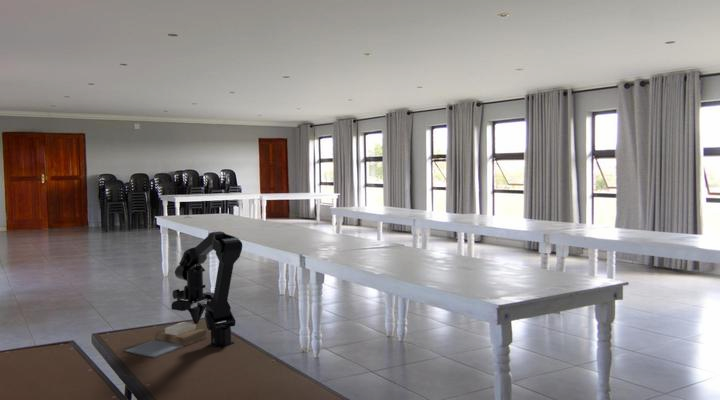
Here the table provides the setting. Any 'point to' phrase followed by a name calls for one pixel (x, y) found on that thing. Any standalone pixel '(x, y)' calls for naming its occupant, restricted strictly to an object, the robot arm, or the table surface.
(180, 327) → the cream rectangular block
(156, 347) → the mat
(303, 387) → the table surface
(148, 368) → the table surface
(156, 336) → the deck
